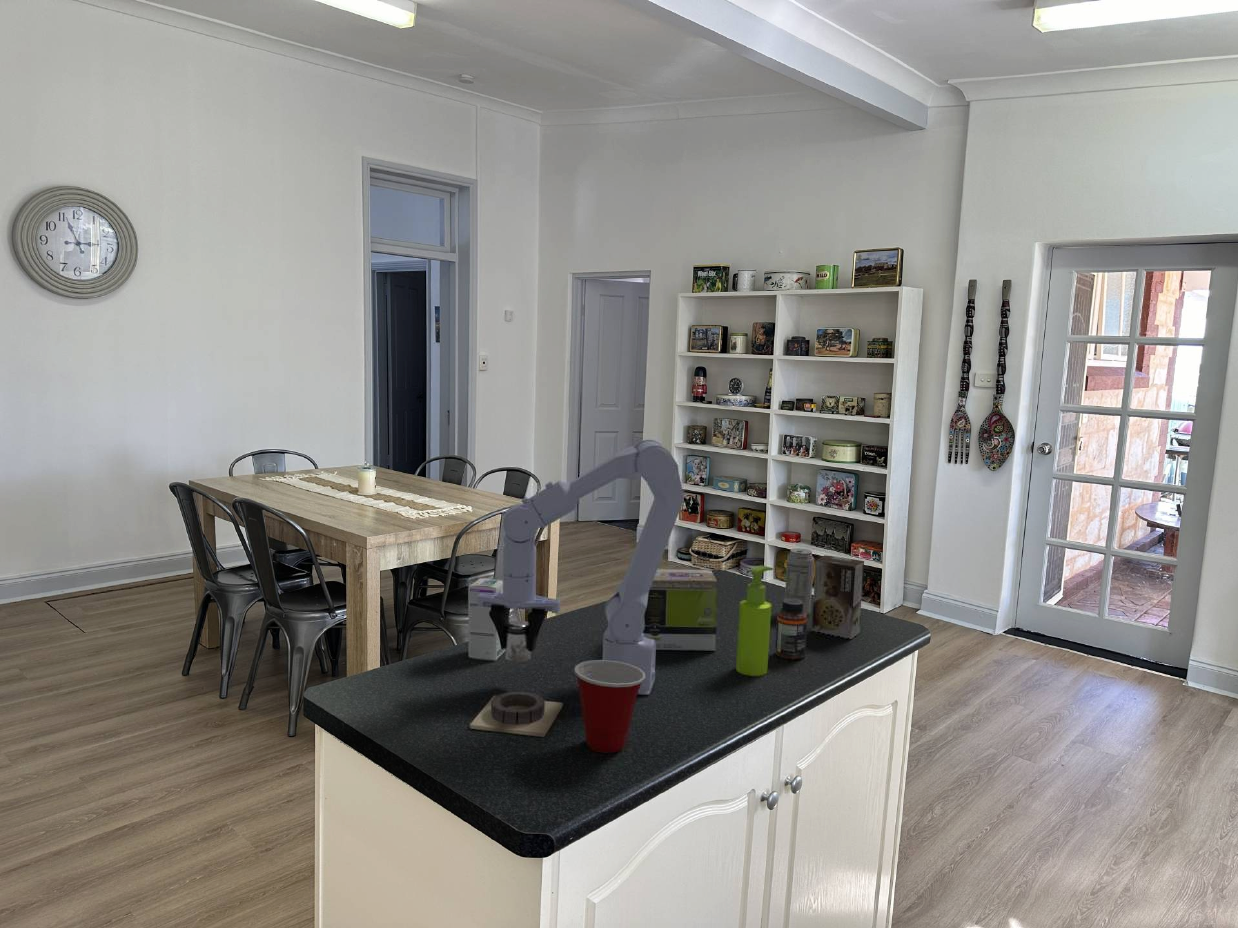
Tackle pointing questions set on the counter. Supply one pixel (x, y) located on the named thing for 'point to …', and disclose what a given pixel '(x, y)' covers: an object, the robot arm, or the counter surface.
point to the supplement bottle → (791, 630)
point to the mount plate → (517, 729)
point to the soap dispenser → (754, 627)
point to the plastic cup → (607, 701)
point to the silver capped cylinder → (517, 641)
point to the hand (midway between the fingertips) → (518, 648)
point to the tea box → (682, 610)
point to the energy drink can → (800, 577)
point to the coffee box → (837, 596)
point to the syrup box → (483, 622)
